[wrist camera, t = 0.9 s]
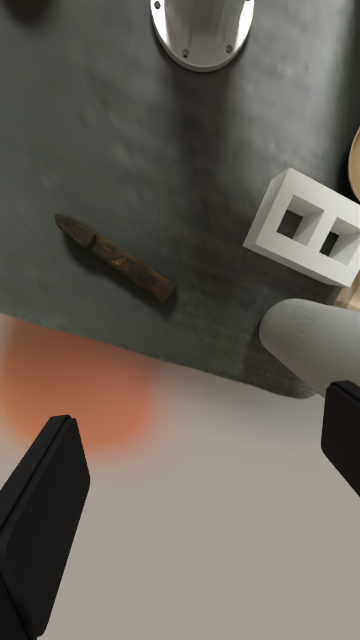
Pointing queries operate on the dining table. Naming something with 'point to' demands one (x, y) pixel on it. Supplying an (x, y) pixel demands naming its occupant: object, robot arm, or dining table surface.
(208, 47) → the robot arm
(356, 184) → the plant saucer
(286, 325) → the glass bottle
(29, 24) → the dining table surface
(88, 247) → the hand tool
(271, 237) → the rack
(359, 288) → the socket block
